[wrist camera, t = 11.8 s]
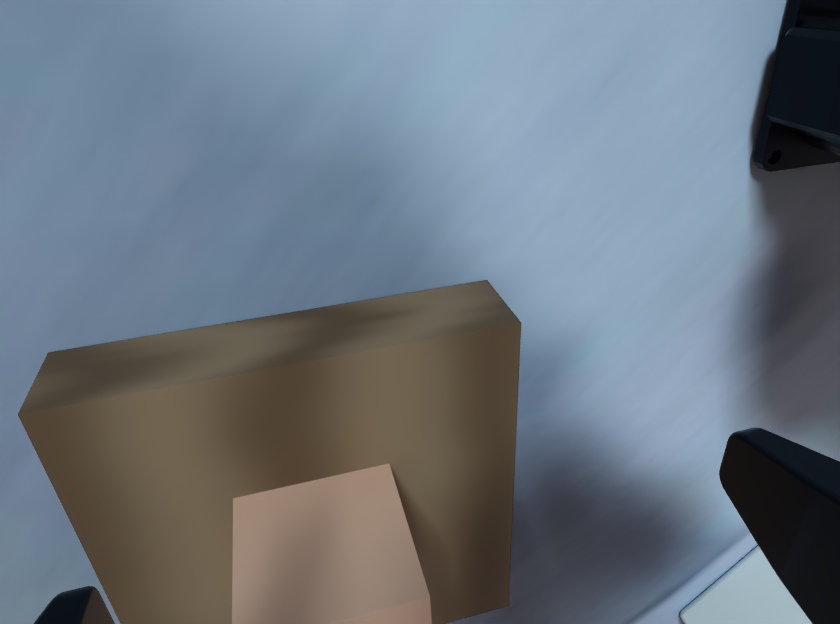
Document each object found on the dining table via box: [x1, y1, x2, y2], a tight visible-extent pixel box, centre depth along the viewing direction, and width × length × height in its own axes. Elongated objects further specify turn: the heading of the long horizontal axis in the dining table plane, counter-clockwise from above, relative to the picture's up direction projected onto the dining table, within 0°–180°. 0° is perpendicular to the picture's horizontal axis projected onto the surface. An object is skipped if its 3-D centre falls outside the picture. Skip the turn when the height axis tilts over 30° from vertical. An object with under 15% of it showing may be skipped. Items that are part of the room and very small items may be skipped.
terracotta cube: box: [232, 464, 432, 624], centre depth 19 cm, size 5×5×5 cm
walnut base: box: [18, 280, 521, 624], centre depth 22 cm, size 14×14×3 cm
